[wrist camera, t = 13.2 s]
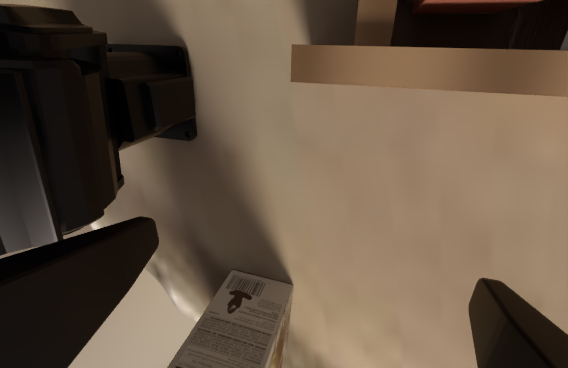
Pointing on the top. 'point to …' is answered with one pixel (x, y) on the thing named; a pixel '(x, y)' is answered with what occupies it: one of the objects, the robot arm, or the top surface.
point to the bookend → (540, 26)
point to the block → (466, 6)
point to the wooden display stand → (426, 62)
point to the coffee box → (240, 326)
